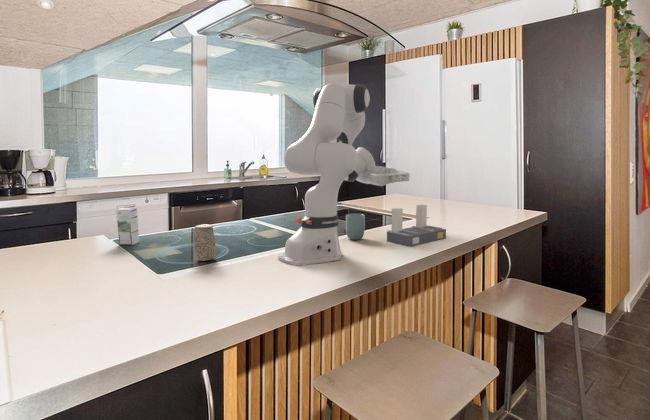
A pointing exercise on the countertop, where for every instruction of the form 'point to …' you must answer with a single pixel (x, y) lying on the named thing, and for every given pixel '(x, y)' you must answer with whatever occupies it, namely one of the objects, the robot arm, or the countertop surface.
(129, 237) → the syrup box
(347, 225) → the cup
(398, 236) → the switch console
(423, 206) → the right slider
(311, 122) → the robot arm
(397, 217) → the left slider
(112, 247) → the countertop surface
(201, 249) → the carving
